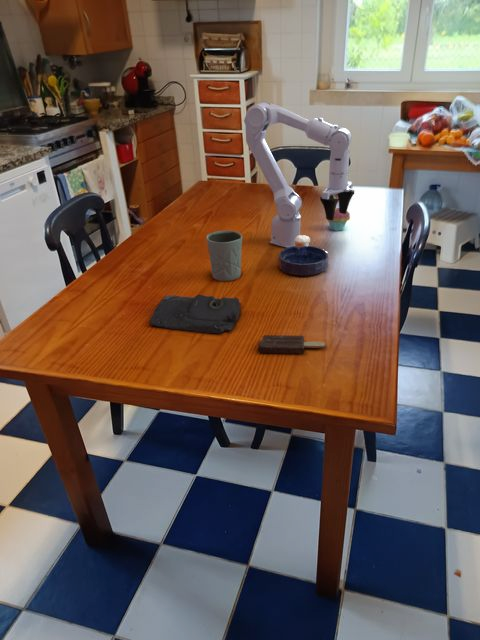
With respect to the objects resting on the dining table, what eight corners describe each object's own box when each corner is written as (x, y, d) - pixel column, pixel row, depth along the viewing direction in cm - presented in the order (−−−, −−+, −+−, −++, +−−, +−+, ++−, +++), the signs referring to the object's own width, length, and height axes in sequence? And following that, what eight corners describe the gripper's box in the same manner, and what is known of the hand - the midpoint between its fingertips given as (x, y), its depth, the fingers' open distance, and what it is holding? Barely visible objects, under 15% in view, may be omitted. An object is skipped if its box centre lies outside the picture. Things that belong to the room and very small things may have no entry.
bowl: (269, 269, 147) (268, 256, 145) (297, 253, 157) (298, 241, 154) (309, 281, 139) (309, 268, 137) (336, 264, 149) (337, 252, 146)
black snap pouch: (168, 298, 133) (165, 283, 130) (246, 305, 128) (245, 289, 126) (144, 327, 120) (141, 310, 118) (230, 335, 116) (228, 318, 113)
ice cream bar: (324, 341, 113) (259, 340, 114) (324, 335, 112) (259, 334, 113) (325, 354, 108) (258, 353, 109) (325, 348, 107) (258, 347, 108)
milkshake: (311, 268, 145) (312, 236, 140) (293, 267, 146) (293, 235, 141) (312, 262, 149) (313, 231, 143) (295, 261, 150) (296, 230, 144)
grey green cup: (204, 279, 142) (200, 240, 136) (218, 266, 150) (215, 228, 144) (236, 283, 139) (233, 244, 133) (249, 270, 147) (247, 231, 140)
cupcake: (333, 233, 171) (335, 199, 164) (320, 226, 177) (322, 193, 170) (353, 229, 174) (356, 195, 167) (340, 222, 180) (342, 190, 174)
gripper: (337, 179, 140) (334, 225, 148) (362, 169, 150) (359, 212, 157) (316, 176, 144) (315, 220, 152) (342, 166, 153) (340, 208, 161)
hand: (336, 216), depth 155 cm, fingers open, 7 cm apart
